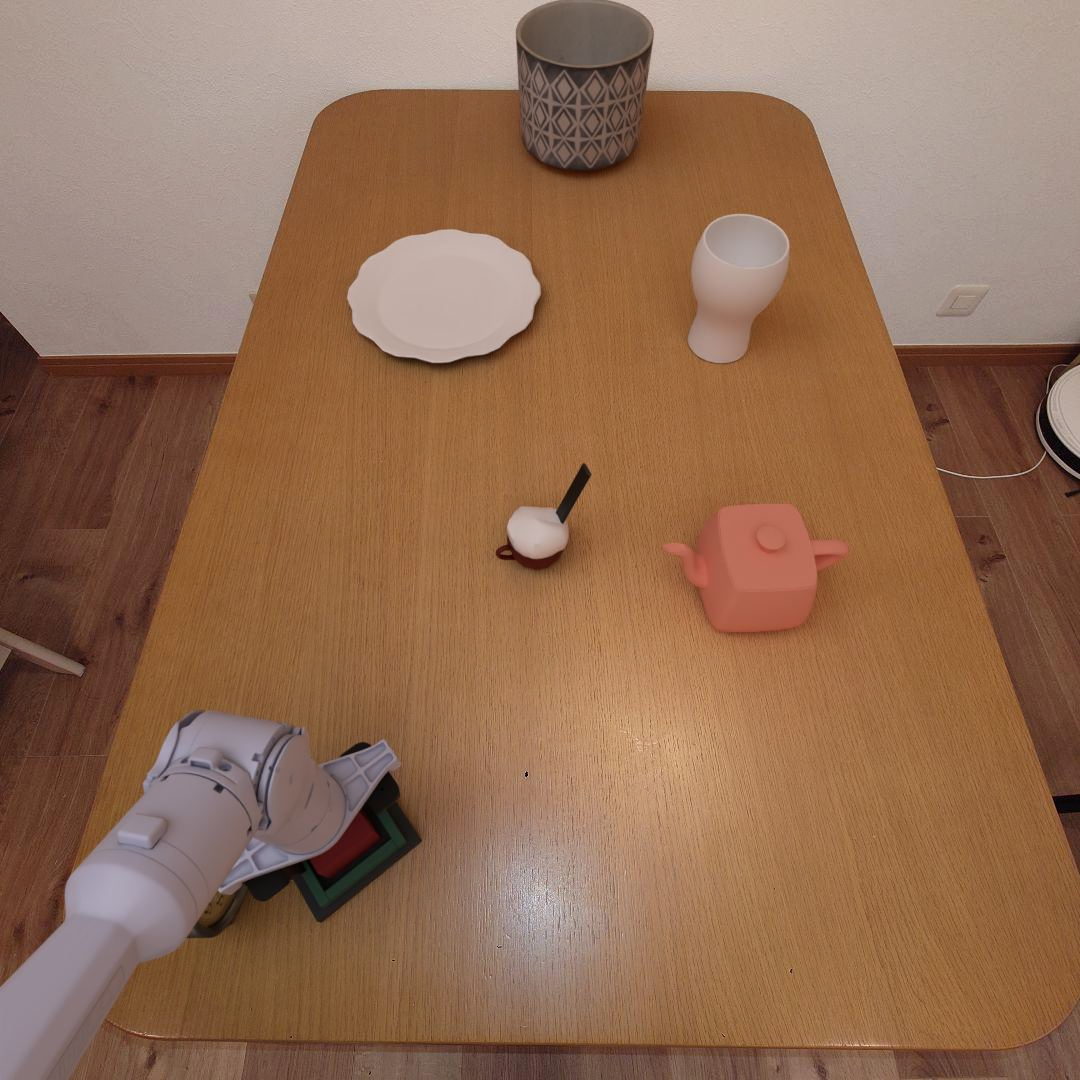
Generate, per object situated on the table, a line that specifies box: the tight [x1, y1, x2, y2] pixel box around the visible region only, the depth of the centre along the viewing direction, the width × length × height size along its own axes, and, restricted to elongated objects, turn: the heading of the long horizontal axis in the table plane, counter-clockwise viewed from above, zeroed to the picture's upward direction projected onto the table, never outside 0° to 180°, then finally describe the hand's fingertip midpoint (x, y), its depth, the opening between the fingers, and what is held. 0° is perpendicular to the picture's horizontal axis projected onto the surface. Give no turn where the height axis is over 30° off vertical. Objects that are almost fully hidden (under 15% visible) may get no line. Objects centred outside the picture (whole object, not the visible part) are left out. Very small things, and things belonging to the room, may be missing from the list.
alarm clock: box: [186, 883, 249, 939], centre depth 54 cm, size 11×5×16 cm, turn 1°
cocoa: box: [495, 462, 592, 571], centre depth 71 cm, size 10×6×12 cm, turn 92°
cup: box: [687, 213, 791, 364], centre depth 85 cm, size 11×11×15 cm
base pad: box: [292, 800, 423, 924], centre depth 61 cm, size 10×9×3 cm
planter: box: [515, 0, 655, 172], centre depth 107 cm, size 19×19×16 cm
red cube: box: [309, 808, 382, 879], centre depth 59 cm, size 5×5×4 cm
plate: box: [346, 228, 542, 365], centre depth 95 cm, size 25×25×2 cm
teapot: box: [662, 502, 850, 633], centre depth 69 cm, size 12×18×10 cm, turn 93°
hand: (337, 831), depth 59 cm, fingers open, 7 cm apart
